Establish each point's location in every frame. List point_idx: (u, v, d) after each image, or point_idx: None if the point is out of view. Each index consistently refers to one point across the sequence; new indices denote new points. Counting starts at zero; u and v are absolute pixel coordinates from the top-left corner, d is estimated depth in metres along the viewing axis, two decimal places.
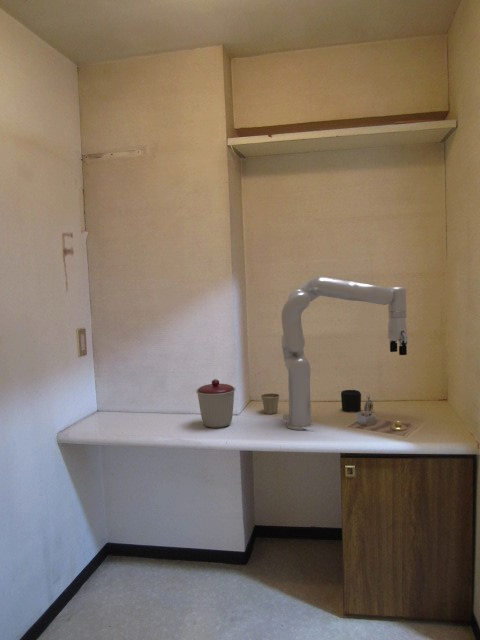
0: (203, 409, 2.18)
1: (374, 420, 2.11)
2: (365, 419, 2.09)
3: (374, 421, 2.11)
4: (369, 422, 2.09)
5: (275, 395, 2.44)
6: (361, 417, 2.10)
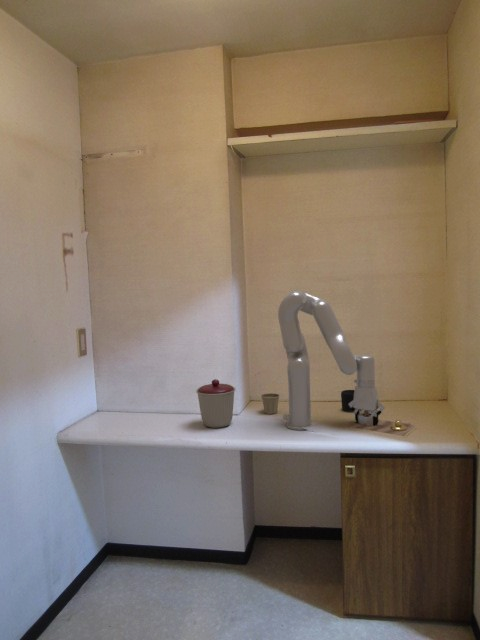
0: (203, 409, 2.18)
1: None
2: (365, 419, 2.09)
3: None
4: (369, 422, 2.09)
5: (275, 395, 2.44)
6: (361, 417, 2.10)
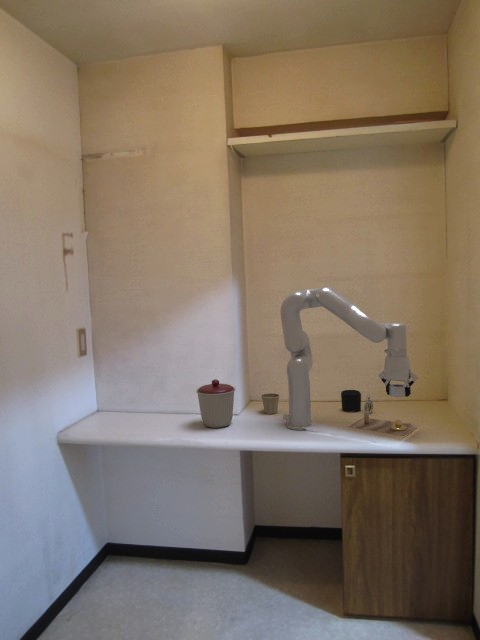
0: (203, 409, 2.18)
1: None
2: (397, 390, 1.99)
3: None
4: (401, 393, 1.99)
5: (275, 395, 2.44)
6: (393, 388, 2.00)
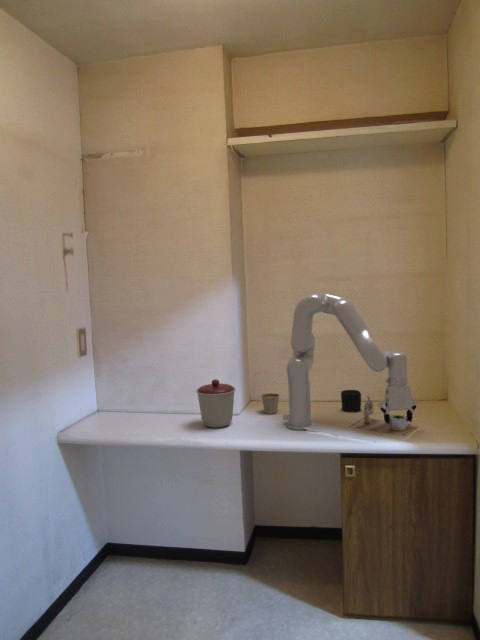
0: (203, 409, 2.18)
1: None
2: (404, 422, 2.01)
3: None
4: (406, 424, 2.02)
5: (275, 395, 2.44)
6: (400, 420, 2.00)
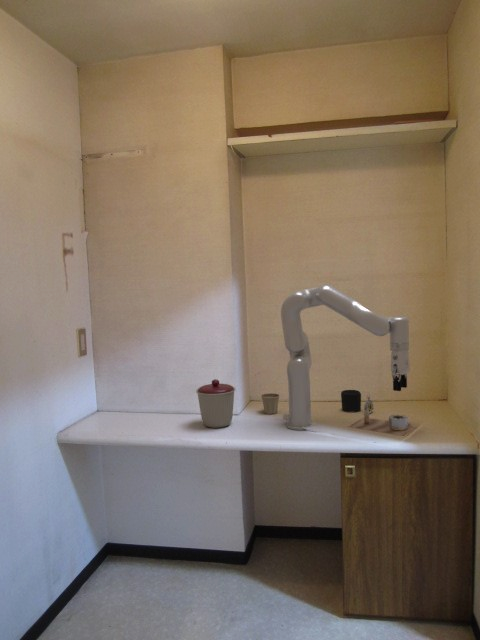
0: (203, 409, 2.18)
1: None
2: (404, 422, 2.01)
3: None
4: (406, 424, 2.02)
5: (275, 395, 2.44)
6: (400, 420, 2.00)
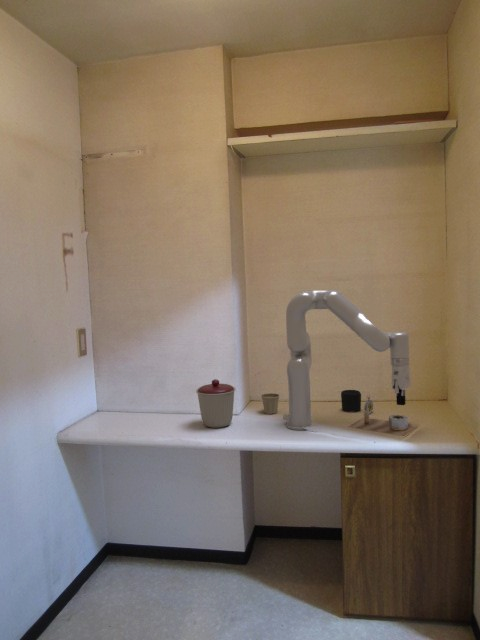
0: (203, 409, 2.18)
1: None
2: (404, 422, 2.01)
3: None
4: (406, 424, 2.02)
5: (275, 395, 2.44)
6: (400, 420, 2.00)
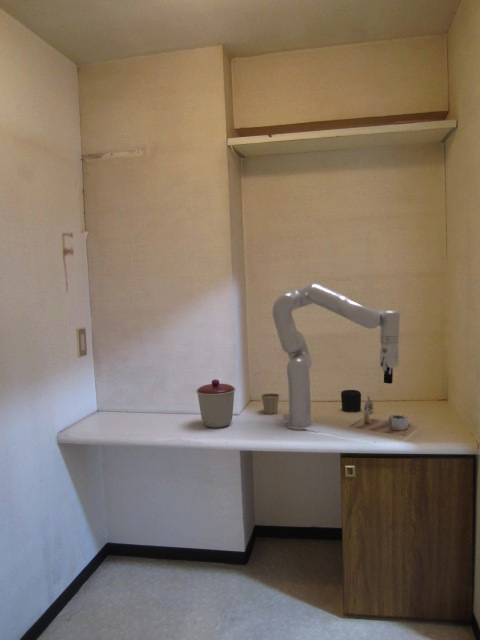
0: (203, 409, 2.18)
1: None
2: (404, 422, 2.01)
3: None
4: (406, 424, 2.02)
5: (275, 395, 2.44)
6: (400, 420, 2.00)
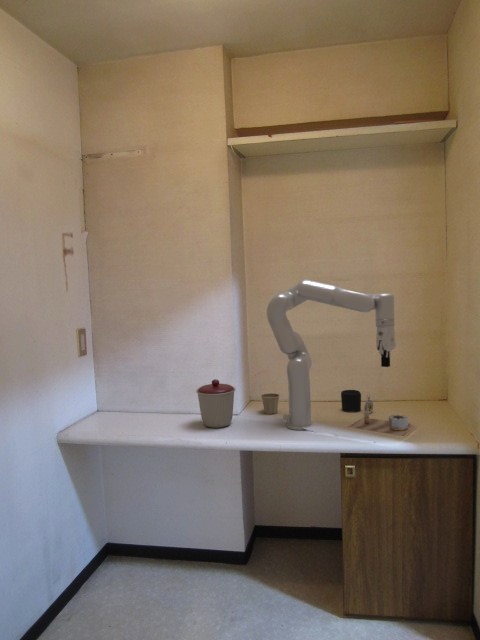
0: (203, 409, 2.18)
1: None
2: (404, 422, 2.01)
3: None
4: (406, 424, 2.02)
5: (275, 395, 2.44)
6: (400, 420, 2.00)
